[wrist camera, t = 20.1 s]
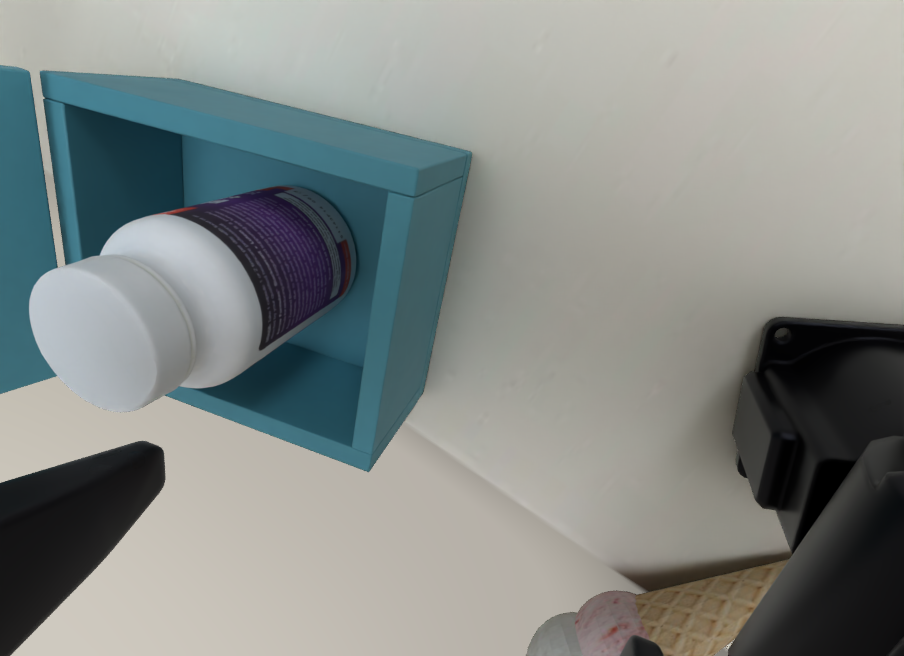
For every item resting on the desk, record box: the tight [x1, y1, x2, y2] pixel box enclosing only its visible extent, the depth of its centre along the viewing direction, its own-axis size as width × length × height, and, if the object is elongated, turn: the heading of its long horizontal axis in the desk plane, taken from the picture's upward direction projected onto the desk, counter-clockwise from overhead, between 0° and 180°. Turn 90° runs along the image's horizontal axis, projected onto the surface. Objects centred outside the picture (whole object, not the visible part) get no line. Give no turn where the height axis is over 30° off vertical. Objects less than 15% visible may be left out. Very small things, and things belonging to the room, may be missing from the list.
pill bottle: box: [29, 186, 356, 412], centre depth 17 cm, size 5×5×10 cm
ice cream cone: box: [526, 559, 789, 656], centre depth 22 cm, size 5×5×15 cm
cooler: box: [40, 71, 472, 472], centre depth 20 cm, size 13×11×6 cm
